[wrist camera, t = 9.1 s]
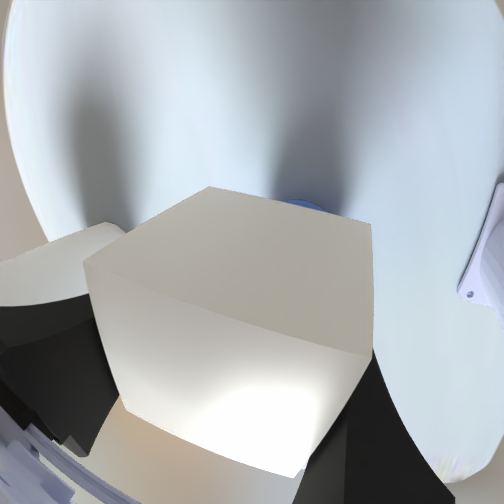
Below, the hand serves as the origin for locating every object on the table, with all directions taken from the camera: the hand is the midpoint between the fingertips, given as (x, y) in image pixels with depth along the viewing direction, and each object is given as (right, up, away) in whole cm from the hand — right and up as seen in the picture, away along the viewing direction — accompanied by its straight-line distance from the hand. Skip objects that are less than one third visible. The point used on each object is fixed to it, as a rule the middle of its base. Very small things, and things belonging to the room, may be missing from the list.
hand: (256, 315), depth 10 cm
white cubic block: (+1, +1, +1) cm, 2 cm away
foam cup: (-13, +2, +15) cm, 20 cm away
